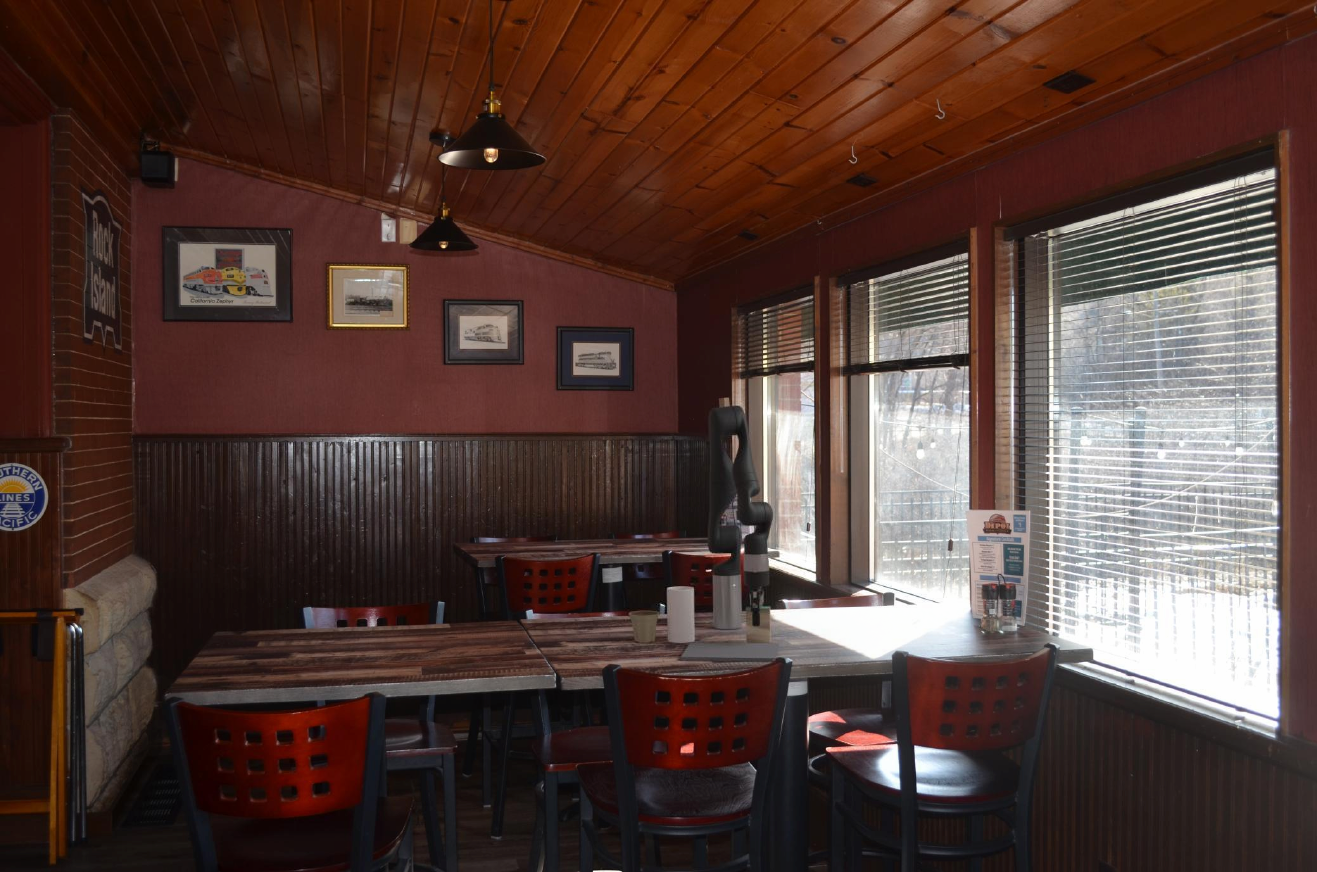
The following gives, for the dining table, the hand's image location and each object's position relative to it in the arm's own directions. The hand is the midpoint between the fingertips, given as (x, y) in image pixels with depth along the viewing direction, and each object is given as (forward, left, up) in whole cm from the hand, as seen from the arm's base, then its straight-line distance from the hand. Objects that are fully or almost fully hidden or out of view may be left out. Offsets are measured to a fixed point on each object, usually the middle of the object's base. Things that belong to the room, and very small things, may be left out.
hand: (757, 623), depth 319 cm
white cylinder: (-6, -24, -6) cm, 25 cm away
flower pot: (-4, -35, -7) cm, 36 cm away
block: (-1, 0, -6) cm, 6 cm away
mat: (+13, -7, -6) cm, 16 cm away
